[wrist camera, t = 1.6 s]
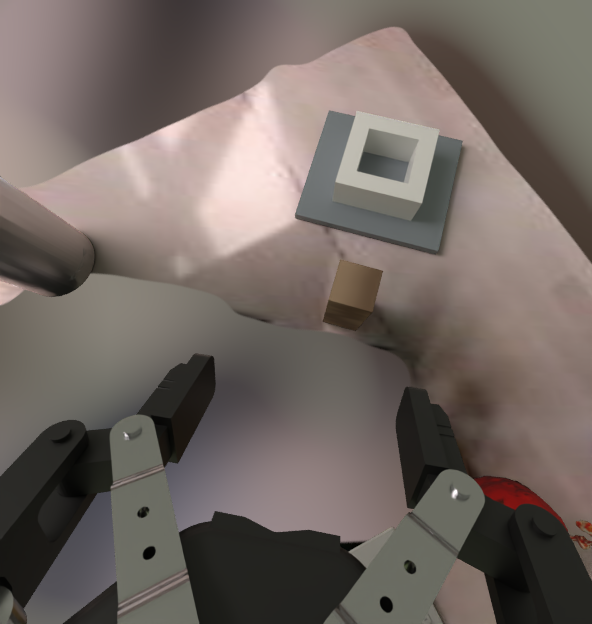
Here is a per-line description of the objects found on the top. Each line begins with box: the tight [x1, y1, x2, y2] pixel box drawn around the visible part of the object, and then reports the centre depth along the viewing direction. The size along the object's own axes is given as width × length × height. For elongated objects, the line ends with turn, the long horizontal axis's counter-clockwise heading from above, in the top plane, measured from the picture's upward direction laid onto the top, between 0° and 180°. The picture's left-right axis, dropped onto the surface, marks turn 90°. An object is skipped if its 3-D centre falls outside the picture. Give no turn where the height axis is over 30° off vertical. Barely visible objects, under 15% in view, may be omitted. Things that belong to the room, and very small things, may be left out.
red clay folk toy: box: [474, 476, 592, 549], centre depth 27 cm, size 8×7×15 cm
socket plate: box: [295, 111, 463, 254], centre depth 41 cm, size 18×16×5 cm
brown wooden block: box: [323, 260, 383, 331], centre depth 35 cm, size 4×4×10 cm
